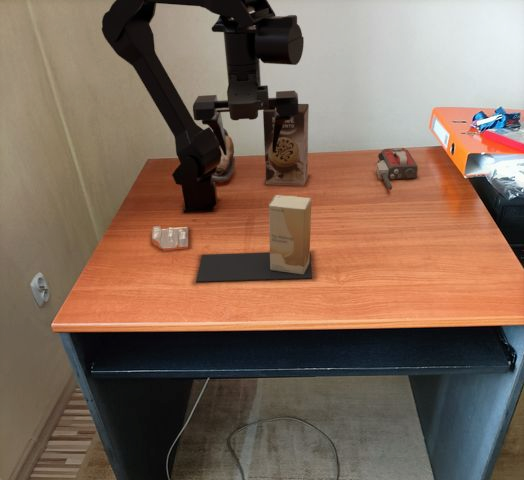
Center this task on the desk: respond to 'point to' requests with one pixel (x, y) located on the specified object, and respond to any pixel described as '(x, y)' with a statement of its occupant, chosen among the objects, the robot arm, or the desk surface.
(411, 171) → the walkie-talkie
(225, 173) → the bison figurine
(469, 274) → the desk surface
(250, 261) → the mat
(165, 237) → the stamped metal plate
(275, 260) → the cosmetic box
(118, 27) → the robot arm
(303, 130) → the coffee box
